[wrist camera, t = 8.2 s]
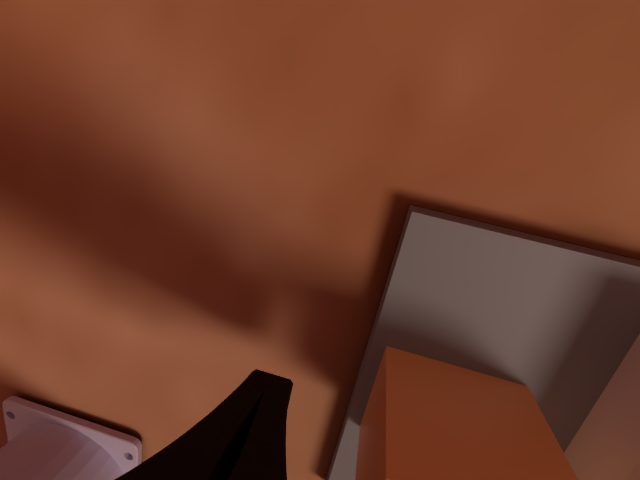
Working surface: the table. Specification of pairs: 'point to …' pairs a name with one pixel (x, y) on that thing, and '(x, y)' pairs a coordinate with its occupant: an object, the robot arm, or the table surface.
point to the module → (453, 426)
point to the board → (516, 332)
